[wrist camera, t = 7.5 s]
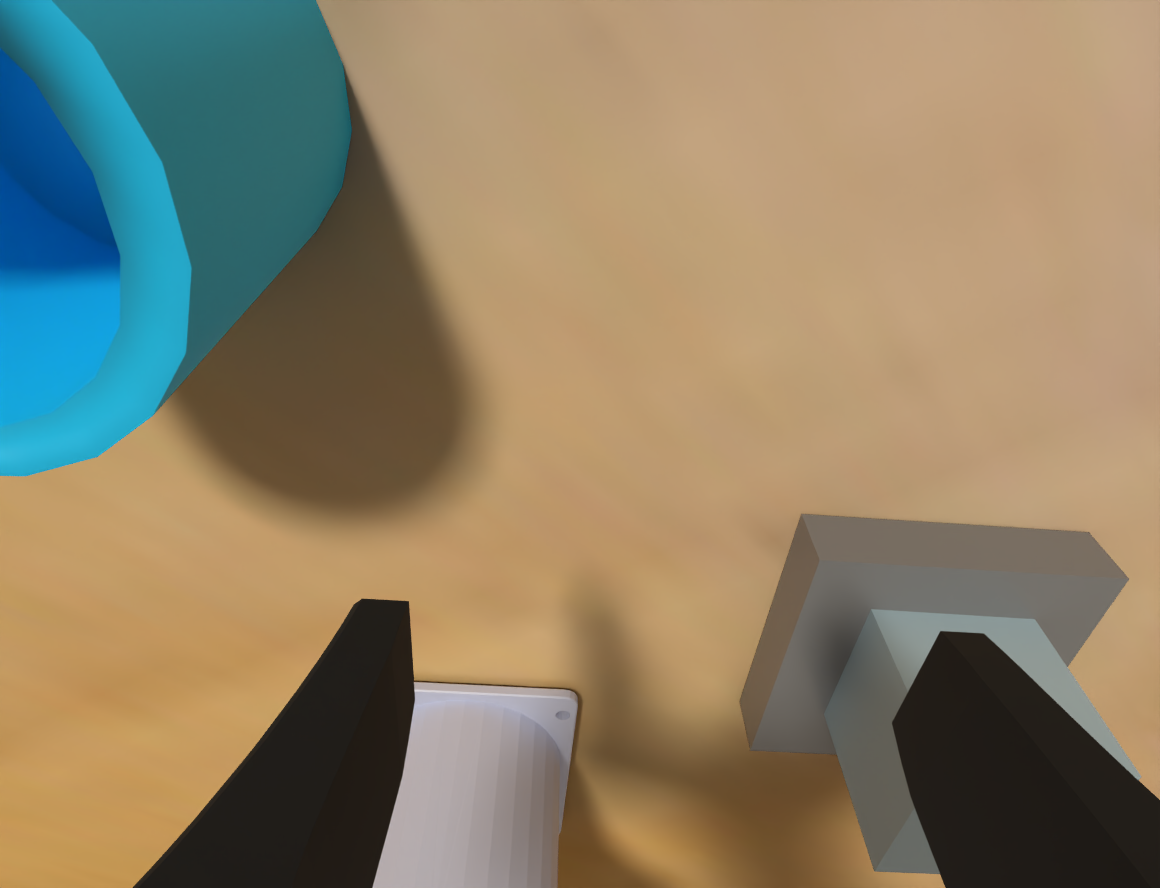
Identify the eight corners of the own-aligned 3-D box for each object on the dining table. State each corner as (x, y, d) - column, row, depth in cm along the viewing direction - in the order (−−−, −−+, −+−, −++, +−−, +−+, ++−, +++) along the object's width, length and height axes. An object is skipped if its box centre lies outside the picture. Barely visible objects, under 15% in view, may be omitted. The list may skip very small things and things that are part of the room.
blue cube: (969, 721, 25) (1048, 878, 21) (823, 714, 24) (874, 871, 20) (1035, 619, 22) (1141, 776, 18) (870, 609, 22) (941, 766, 18)
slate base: (975, 713, 28) (1000, 762, 26) (739, 701, 27) (750, 750, 26) (1088, 532, 23) (1129, 578, 21) (801, 514, 22) (819, 560, 21)
